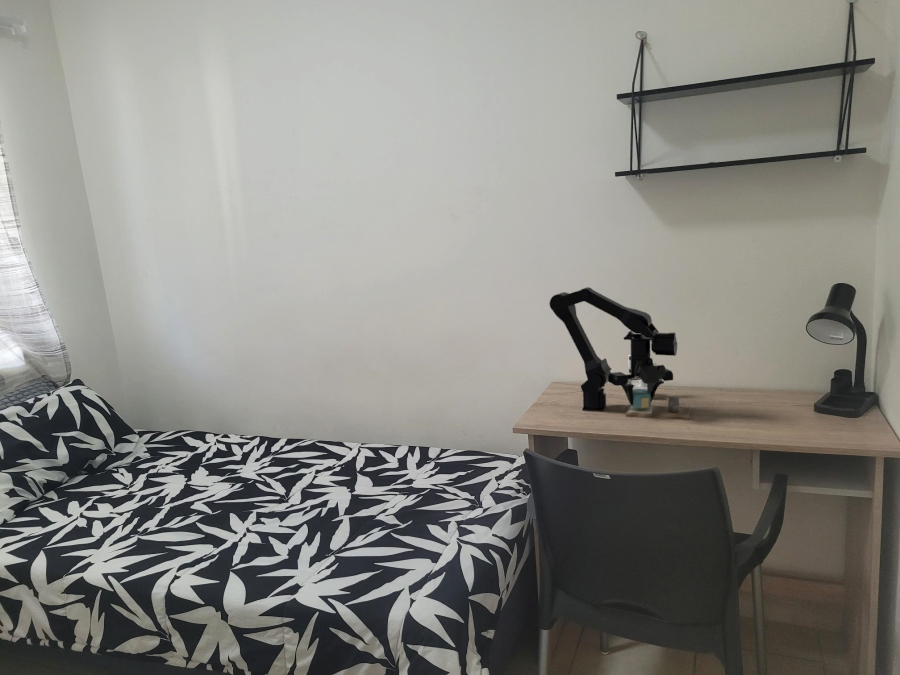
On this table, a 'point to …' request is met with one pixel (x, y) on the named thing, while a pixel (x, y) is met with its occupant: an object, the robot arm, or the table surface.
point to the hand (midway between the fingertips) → (640, 403)
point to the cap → (641, 399)
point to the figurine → (639, 385)
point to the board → (661, 411)
